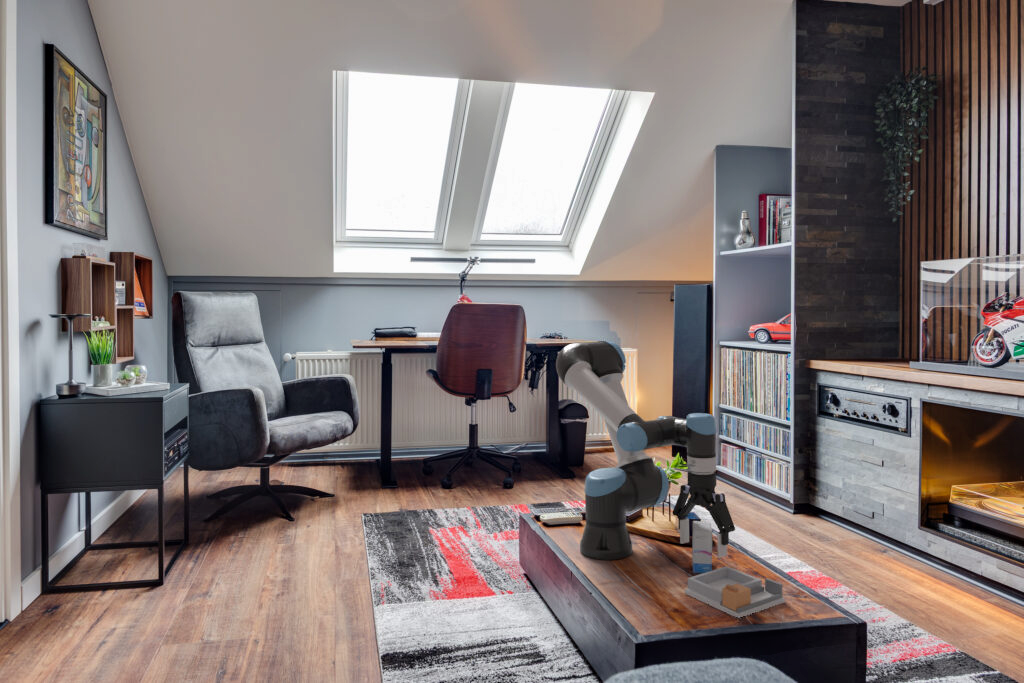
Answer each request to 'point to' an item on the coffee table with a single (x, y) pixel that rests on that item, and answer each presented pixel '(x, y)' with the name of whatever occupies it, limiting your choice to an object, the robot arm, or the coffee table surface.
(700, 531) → the ink box
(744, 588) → the brown block
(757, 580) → the housing
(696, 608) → the coffee table surface
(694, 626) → the coffee table surface
